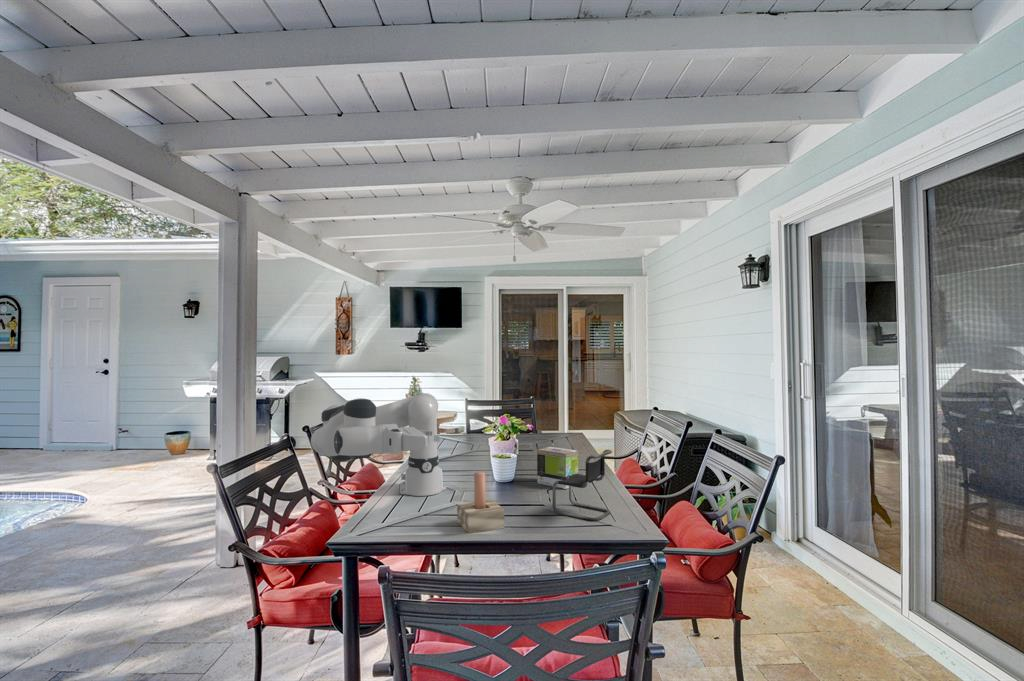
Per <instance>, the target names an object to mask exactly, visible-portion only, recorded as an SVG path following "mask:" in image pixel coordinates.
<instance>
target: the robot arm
mask: <svg viewBox="0 0 1024 681" xmlns="http://www.w3.org/2000/svg"><path fill="white" fill-rule="evenodd" d="M438 411H439V402H438V400H437V398H436V397H435V396H434V395H433V394H430V393H429V392H427V393H426V392H425V393H420V394H416V395H413V396H409V397H406V398H402V399H399V400H396V401H393V402H390V403H385V404H382V405H379V406H376V404H375V403H374V402H373V401H372V400H371V399H369V398H364V397H363V398H362V397H361V398H359V397H358V398H354V399H351V400H348V401H347V402H346V403H344V404H332V405H330V406H328V407H327V408H325V409H324V410H323V411H322V412H321V422H322V426H321V427H319V428H318V429H316V430H314V432H313V433H312V434H311V437H310V445H311V448H312V449H313V451H315V452H316V453H318V454H319V455H321V456H325V457H330V458H332V459H333V460H334V461H336V462H338V463H348V462H351V461H352V460H359V459H362V460H363V459H370V458H371V457H372V455H373V454H377V455H387V454H388V455H389V454H395V455H401V454H402V452H409V456H408V459H407V468H406V470H405V473H402V474H401V476H400V478H401V479H400V480H401V481H402V482H400V483H399V494H400V495H407V496H415V497H416V496H417V497H425V496H433V495H437V494H439V493H441V492H442V491H445V490H447V486H446V485H445V484H444V483H443V482H444V481H443V469H442V467H440V466H439V461H440V459H439V455H438V442H440V438H441V437H440V435H438V425H437V424H438V423H437V422H438V420H437V419H438V416H437V414H438Z"/></svg>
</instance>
